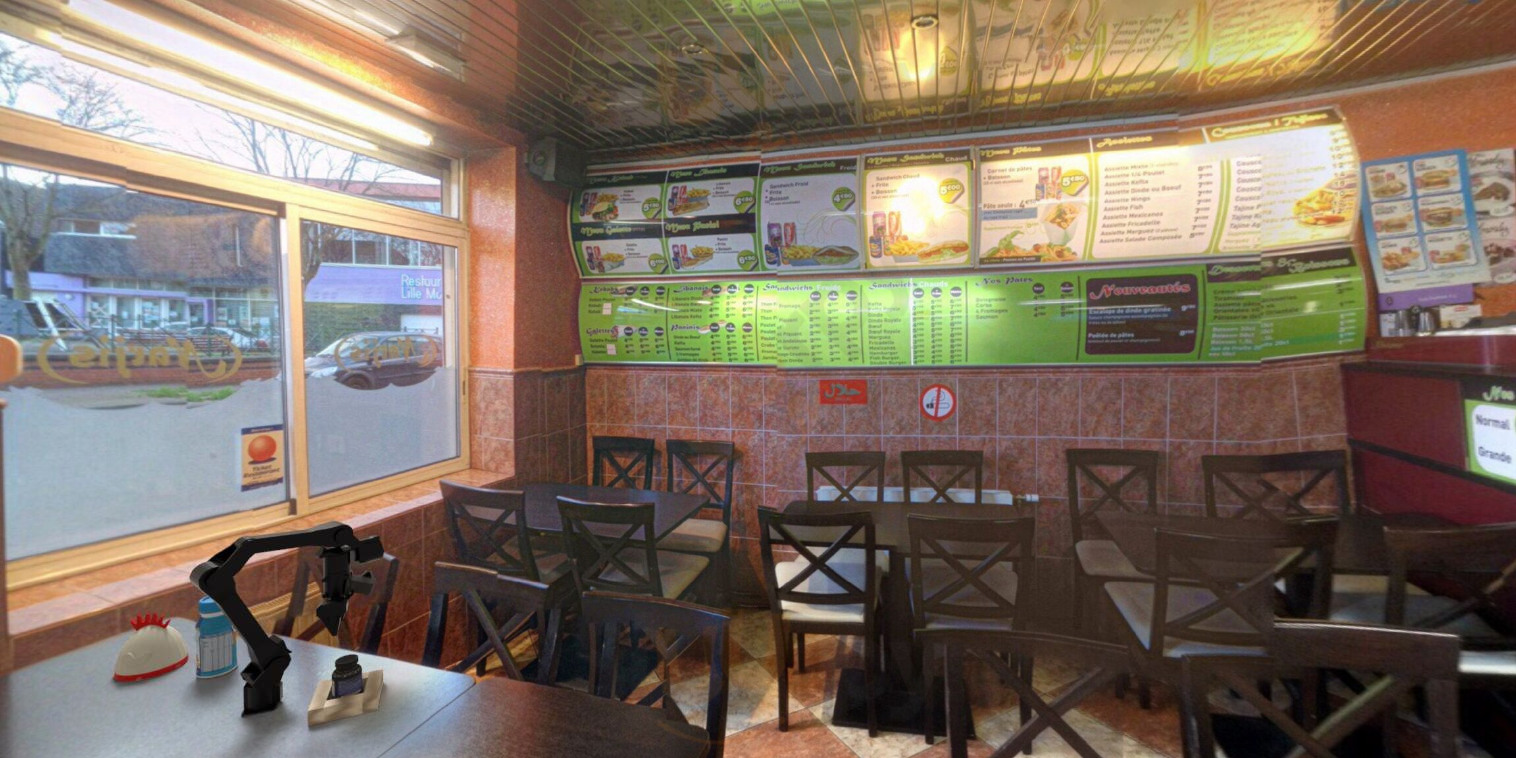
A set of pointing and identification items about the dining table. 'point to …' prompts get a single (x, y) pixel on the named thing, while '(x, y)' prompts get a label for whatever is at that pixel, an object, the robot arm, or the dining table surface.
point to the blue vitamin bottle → (214, 641)
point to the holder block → (345, 700)
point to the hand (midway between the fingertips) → (337, 628)
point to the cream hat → (150, 650)
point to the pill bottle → (346, 677)
